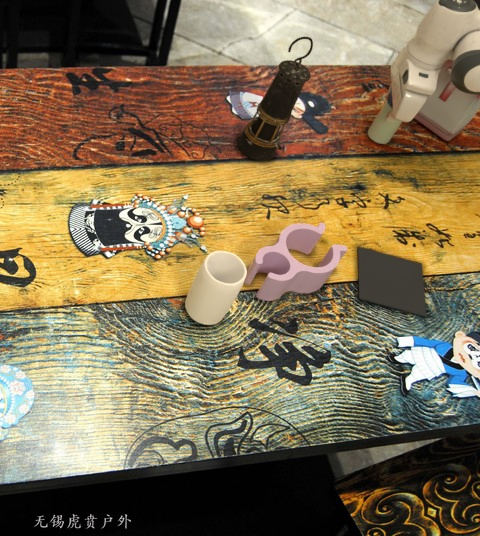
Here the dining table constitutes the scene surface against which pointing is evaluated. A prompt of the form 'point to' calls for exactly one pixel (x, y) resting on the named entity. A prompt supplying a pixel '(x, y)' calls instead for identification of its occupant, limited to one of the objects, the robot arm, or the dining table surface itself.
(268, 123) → the lantern
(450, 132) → the red white cross box
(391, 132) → the jar
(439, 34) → the robot arm
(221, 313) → the cup
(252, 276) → the clip
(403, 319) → the dining table surface
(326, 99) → the dining table surface
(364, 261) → the mat
